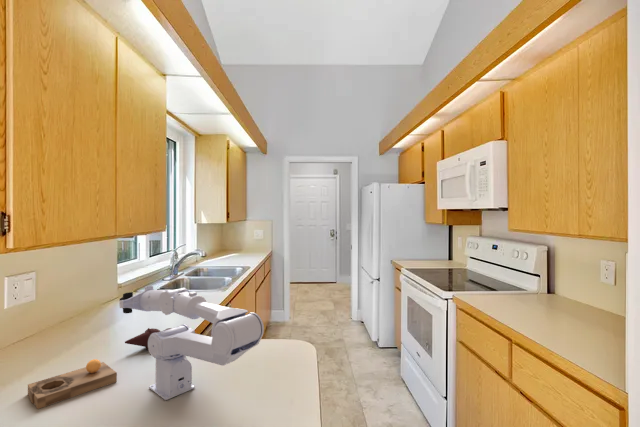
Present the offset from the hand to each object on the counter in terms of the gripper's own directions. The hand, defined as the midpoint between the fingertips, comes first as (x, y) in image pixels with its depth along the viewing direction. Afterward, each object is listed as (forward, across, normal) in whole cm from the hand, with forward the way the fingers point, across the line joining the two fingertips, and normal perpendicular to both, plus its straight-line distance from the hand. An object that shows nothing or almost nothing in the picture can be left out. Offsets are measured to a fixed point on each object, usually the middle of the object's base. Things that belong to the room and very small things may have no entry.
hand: (134, 300), depth 102 cm
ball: (+2, +10, +16) cm, 19 cm away
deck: (+3, +14, +20) cm, 25 cm away
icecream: (+12, -11, +18) cm, 24 cm away
